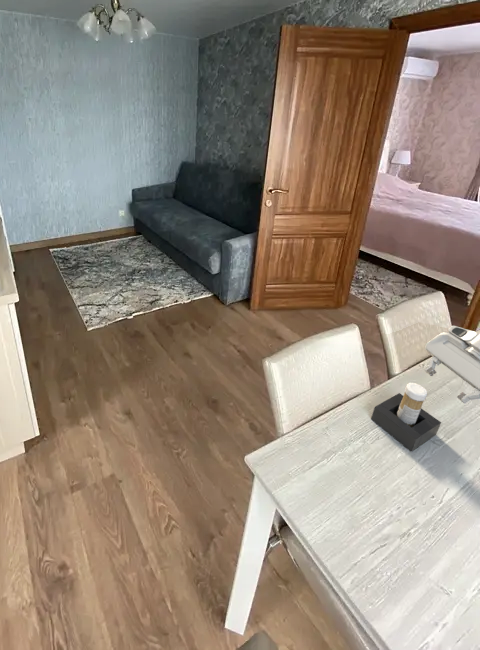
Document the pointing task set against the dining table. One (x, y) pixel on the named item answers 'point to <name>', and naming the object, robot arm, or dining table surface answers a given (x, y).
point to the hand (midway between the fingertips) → (443, 386)
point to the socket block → (399, 429)
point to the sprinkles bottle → (411, 403)
